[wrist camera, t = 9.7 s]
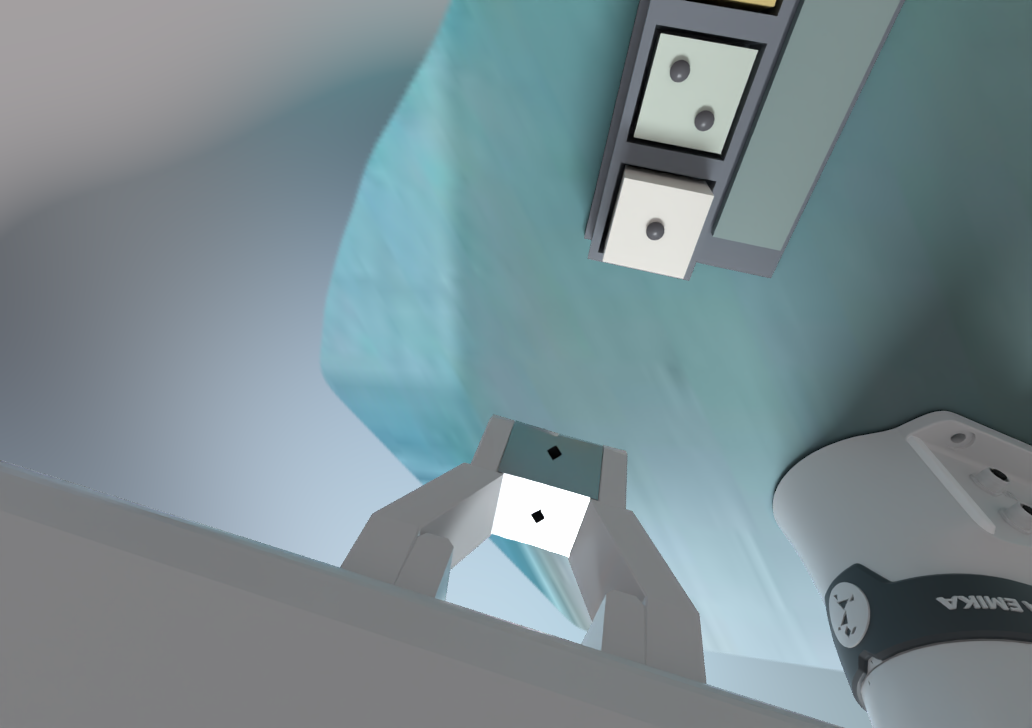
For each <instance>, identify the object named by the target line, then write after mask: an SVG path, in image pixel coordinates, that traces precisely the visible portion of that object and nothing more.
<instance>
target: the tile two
mask: <svg viewBox="0 0 1032 728" xmlns="http://www.w3.org/2000/svg"><path fill="white" fill-rule="evenodd" d="M757 52H758V50H754V49H748V48H742V47H737V46H731V45H725V44H720V43H714V42H708V41H702V40H697V39H691V38H685V37H680V36H674V35H668V34H662V33H660V34H659V35H658V36H657V39H656V43H655V47H654V51H653V55H652V59H651V63H650V66H649V70H648V74H647V78H646V82H645V86H644V89H643V93H642V97H641V101H640V105H639V109H638V113H637V116H636V120H635V124H634V128H633V134H634V137H636V138H641V139H646V140H651V141H656V142H661V143H666V144H672V145H677V146H682V147H687V148H692V149H697V150H702V151H708V152H713V153H718V154H721V152H722V149H723V146H724V143H725V141H726V138H727V135H728V132H729V129H730V127H731V124H732V121H733V118H734V116H735V113H736V110H737V107H738V105H739V102H740V99H741V96H742V94H743V91H744V88H745V85H746V83H747V80H748V77H749V74H750V72H751V69H752V66H753V63H754V60H755V58H756V55H757Z"/></svg>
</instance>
